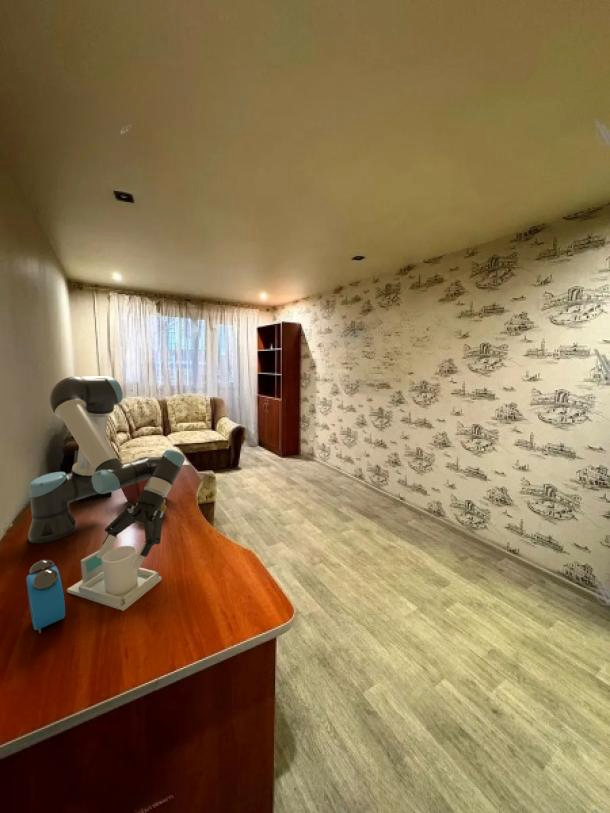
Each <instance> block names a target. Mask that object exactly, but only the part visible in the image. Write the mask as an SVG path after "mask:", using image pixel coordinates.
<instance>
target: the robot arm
mask: <svg viewBox="0 0 610 813" xmlns="http://www.w3.org/2000/svg"><path fill="white" fill-rule="evenodd" d="M123 394H124V393H123V389H122V386H121V384H120V383H119V381H118V380H117V379H116V378H114V376H109V375H106V376H104V375H97V376H96V375H95V376H69V377H65V378H63V379H61V380H59V381H58V382H57V383H56V384H55V385H54V387H53V388H52V389H51V393H50V396H49V403H50V407H51V410H52V412H53V414H54V416H56V417H57V418H58V419H62V421H63V423H64V424H65V426H66V428H67V430H68V431H69V432H70V434H71V435H72V436H73V439H74V440H75V442H76V444H77V445H78V450H79V452H78V460H77V463H75V464H74V463H73V465H72V468H71V472H69V473H66V472H65V471H56V472H50V473H46V474H43V475H41V476H38V477H37V478H34V480H33V479H32V481H31V482H30V483H29V485H28V491H29V492H28V496H29V501H30V511H31V518H32V520H31V523H30V526H29V530H28V534H27V537H28V538H27V539H28V541H29V543H31V544H45V543H50V542H54V541H58V540H60V539H61V540H62V539H63V538H65V537H68V536H70V535H71V534H73V533H74V532H75V531H76V530H78V524H77V523H78V522H77V520H76V518H75V516H74V515H73V514H72V511H71V508H70V507H71V506H70V503H73V502H75V501H76V502H77V500H79V499H82V498H85V497H88V496H91V495H95V494H98V493H100V494H105V493H109V492H112V493H113V492H116V491H118V490H120V489H121V488H123V487H126V486H129V485H132V484H135V483H138V482H141V481H144V480H147V479H149V480H148V482H147V484H146V486H145V487H144V491H142V493H141V494H140V496H139V498H138V500H137V501H138V504H137V505H136V504H135V506H134V505H132V504H129V503H128V505H126V507H125V509H124V510H123V511H122V512H120V514H119V515H118V516H117V517H116V518H115V519H114V520H113V521H112V522H110V523H109V524H108V525H107V526H106V527H105V528H104V532H106V533H107V536H106V537H105V539H104V541H103V542H102V546H101V548H100V549H99V550H100V551H99V553H98V555H97V556H96V557H98V558H100V559H102V557H103V555H104V554H105V553H107V552H108V551H110V550H112V549H113V546H114V545H115V543H116V541H117V539H118V535H119V534H120V533H122V532H124V531H125V530H126V529H127V528H129V527H130V526H131V525H133V524H136V523H138V524H142V525H143V528H144V538H145V541H143V542H142V543H141V545H140V547H139V548H138V550H137V553H136V557H135V558H134V560H133V562H132V564H131V566H130V567H133V568H136V569H139V568H140V567H141V566H142V563H143V561H144V559H145V558H147V557H148V555H149V553H150V551H151V549H152V547H153V546H154V545H160V544H161V541H162V539H161V538H162V530H163V528H162V527H163V520H164V518H165V515H166V513H165V512H162V511H161V510H159V509H160V508H161V506H162V504H163V502H164V500H165V501H166V499H165V498H167V496H168V493H169V492H170V490H171V488H172V486H173V485H174V482H175V481H176V479H177V477H178V475H179V473H180V472H181V469H183V468H182V467H183V465H184V463H185V460H186V458H185V456H184V455H183V454H182V453H181V452H179V451H178V450H175V449H166V450H165V451H164V452H163V454H162V456H142V457H138V458H137V459H135V460H134V461H130V462H127V463H122V462H121V460H120V459H119V457H118V456H117V454H116V453H115V451H114V450H113V449H112V447H111V445H110V444H109V442H108V441H107V439H106V437H107V436H106V434H107V427H108V421H109V415H110V414H112V413H113V412H114V409H115V405H119V404H121V402H123V398H124V396H123ZM121 490H122V489H121ZM157 510H158V511H157ZM153 517H155V518H154V520H153Z"/></svg>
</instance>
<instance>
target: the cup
mask: <svg viewBox="0 0 610 813" xmlns="http://www.w3.org/2000/svg"><path fill="white" fill-rule="evenodd" d="M136 555H137V553H136V548H135V547H134V546H131V545H124V546H123V545H121V546H118V547H114V548H111V549H110V551H108V552H107V553H105V554H104V555H103V557H102V563H103V574H104V585H105V591H106V593H109V594H112V595H121V594H124V593H126V592H128V591H130V590H131V589H133V588H134V587H135V585H136V584H137V581H138V576H137V569H136V568H133V567H130V566H131V564H132V562H133V560H134V558H135V557H136Z"/></svg>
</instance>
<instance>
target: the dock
mask: <svg viewBox="0 0 610 813" xmlns="http://www.w3.org/2000/svg"><path fill="white" fill-rule="evenodd" d="M100 550H101V549H98V550H96V551H94V552H93V553H91V554H89V555H88V556H86V557H84V558H82V559H80V567H81V569H80V570H81V577H82V579H81V580H79V581H78V582H76V583H74V584H73V585H71V586H70V587H68V588H66V592H67V593H68V594H71V595H74V596H76V597H80V598H83V599H86V600H89V601H92V602H95V603H98V604H101V605H104V606H107V607H111V608H114V609H116V610H121V611H122V612H124V611H125V610H127V609H128V608H129V607H130V606H132V605H133V604H134V603H135V602H136V601H138V600H139V599H140V598H141V597H142V596H144V595H145V594H146V593H147V592H149V591H150V590H152V589H153V587H155V586H156V585H157V584H158V583H160V582H161V581H162V579H163V578H162V576H160V574H159V573H160V572H159V571H156V570H151V569H147V568H144V567H141V566H140V568H139V569H137V576H138V581H137V584H136V585H135V587H134V588H133V589H131V590H130V591H128V592H126V593H124V594H121V595H112V594H109V593H106V591H105V585H104V574H103V563H102V559H100V558H98V557H96V556H97V555H98V553H99V551H100Z"/></svg>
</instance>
